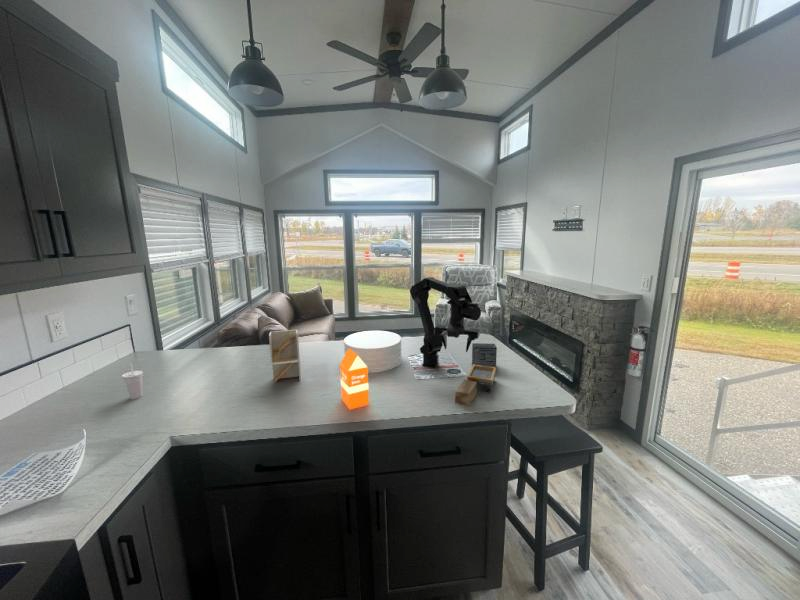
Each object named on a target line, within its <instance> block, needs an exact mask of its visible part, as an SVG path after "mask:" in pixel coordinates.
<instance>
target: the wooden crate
mask: <svg viewBox="0 0 800 600" xmlns="http://www.w3.org/2000/svg"><path fill="white" fill-rule="evenodd" d="M286 328H287V329H286V330H280V331H279V330H278V331H270V332H269V334H268V340H269V341H268V342H269V351H270V352H269V353H270V360H271V365H272V366H271V367H272V376H273V379H272V381H273V382H274V383H277V381H279V380H280V379H287V378H296V377H299V378H298V380H299V381H302V370H301V360H300V359H301V358H300V343H299V334H298V333H299V331H298V329H290V330H289V324H286Z"/></svg>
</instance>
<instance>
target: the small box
mask: <svg viewBox="0 0 800 600" xmlns="http://www.w3.org/2000/svg"><path fill="white" fill-rule="evenodd" d="M471 345H472V346H471V347H472V348H471V367H472V366H473V364H474V365H481V366H488V367H496V368H497V351H498V349H497V348H498V347H497V345H496V344H495V343H482V342H479V343H473V342H471Z"/></svg>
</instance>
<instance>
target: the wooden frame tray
mask: <svg viewBox="0 0 800 600" xmlns="http://www.w3.org/2000/svg"><path fill="white" fill-rule="evenodd" d="M496 373H497V366H496V367H488V366H481V365H474V364H473V366H472V365H471V368H470V370H469V372H468V375H466V376H467V378H466V380H470V381H475V382H477V384H479V385H486V386H487V389H486V390H487V393H492V390H493V383H494V382H495V380H496Z"/></svg>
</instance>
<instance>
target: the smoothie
mask: <svg viewBox="0 0 800 600" xmlns="http://www.w3.org/2000/svg"><path fill="white" fill-rule="evenodd" d="M129 365H130V370H131V371H129V372H126V373H123V374H122V375H121V379H122V380H123V382H124V384H125V388H126V389H127V393H128V395H129V397H130V400H137V399H140V398H142V397H143V375H144V371H142V370H134V368H133V363H132V362H131V363H129Z"/></svg>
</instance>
